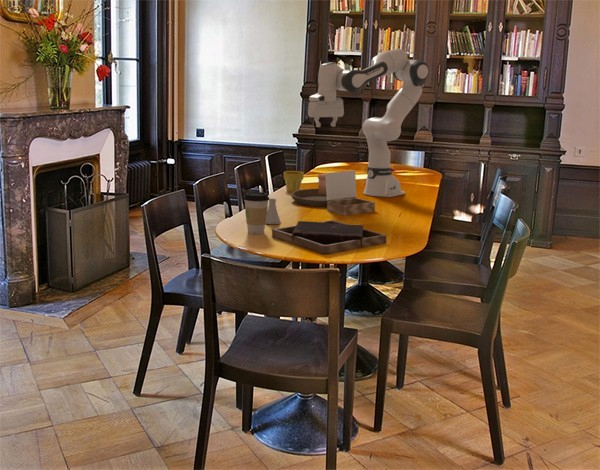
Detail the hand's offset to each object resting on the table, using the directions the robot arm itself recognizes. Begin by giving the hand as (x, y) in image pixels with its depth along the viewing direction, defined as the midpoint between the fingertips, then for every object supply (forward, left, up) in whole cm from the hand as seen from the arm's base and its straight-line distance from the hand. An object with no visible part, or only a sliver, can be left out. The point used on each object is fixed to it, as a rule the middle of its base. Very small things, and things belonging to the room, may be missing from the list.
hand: (325, 126), depth 322 cm
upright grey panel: (+11, +25, -24) cm, 36 cm away
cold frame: (+11, +31, -35) cm, 48 cm away
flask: (+55, +32, -35) cm, 73 cm away
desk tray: (+54, +66, -35) cm, 92 cm away
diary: (+54, +66, -36) cm, 92 cm away
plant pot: (0, -24, -35) cm, 43 cm away
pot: (+7, +8, -31) cm, 33 cm away
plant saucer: (+7, +8, -36) cm, 37 cm away
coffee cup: (+70, +42, -35) cm, 89 cm away
